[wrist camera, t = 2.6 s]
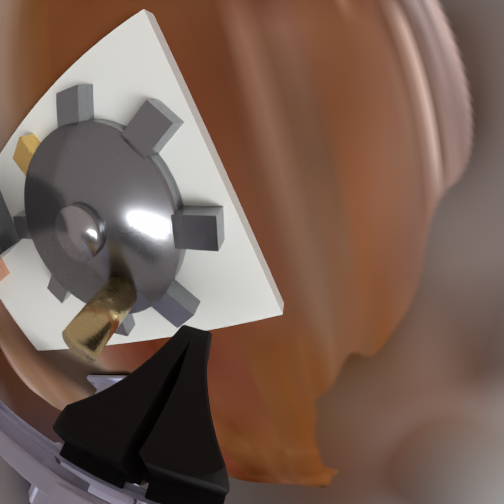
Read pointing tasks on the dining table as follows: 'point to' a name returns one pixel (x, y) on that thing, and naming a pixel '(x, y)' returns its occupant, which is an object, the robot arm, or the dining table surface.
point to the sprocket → (111, 218)
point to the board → (187, 179)
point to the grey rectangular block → (7, 230)
